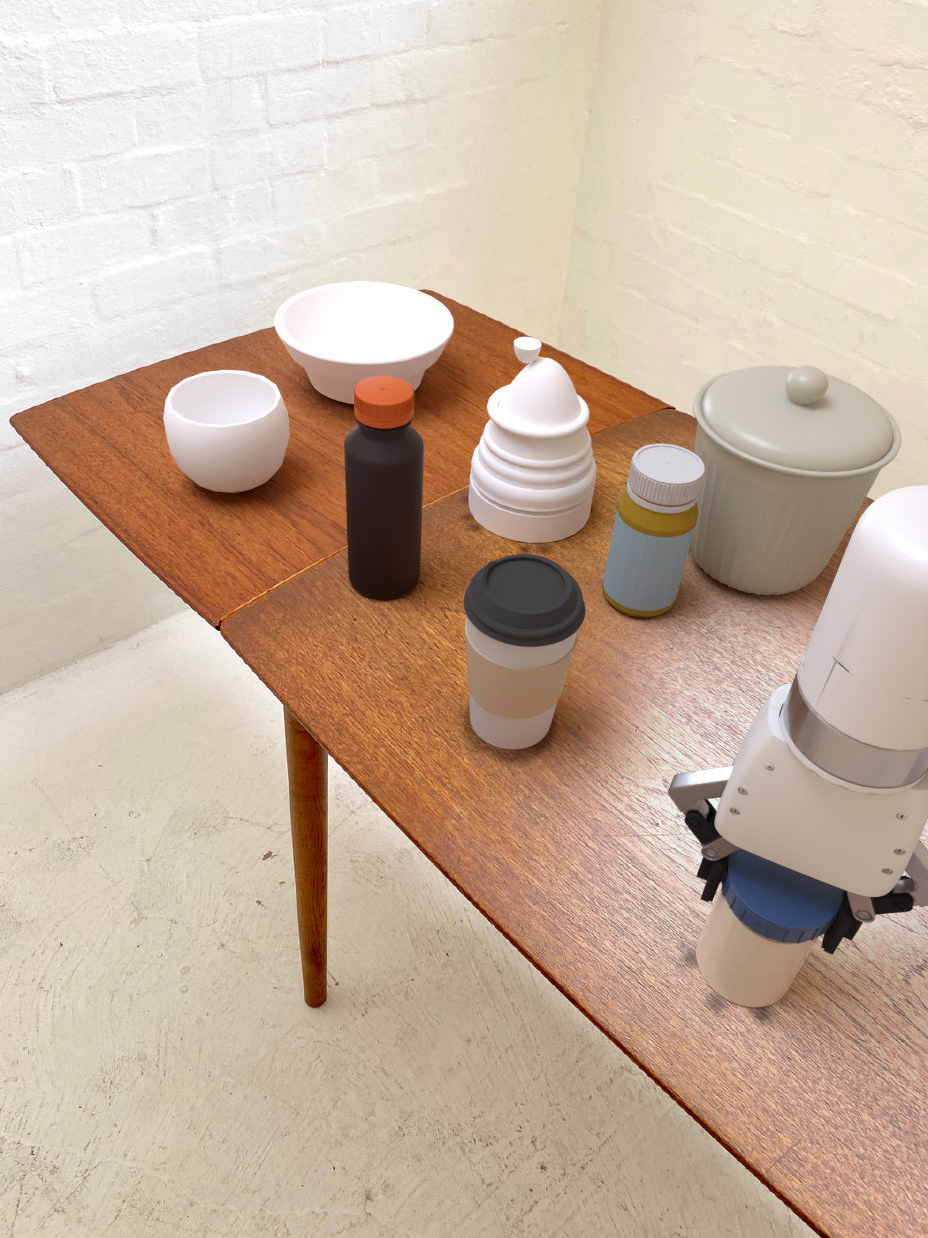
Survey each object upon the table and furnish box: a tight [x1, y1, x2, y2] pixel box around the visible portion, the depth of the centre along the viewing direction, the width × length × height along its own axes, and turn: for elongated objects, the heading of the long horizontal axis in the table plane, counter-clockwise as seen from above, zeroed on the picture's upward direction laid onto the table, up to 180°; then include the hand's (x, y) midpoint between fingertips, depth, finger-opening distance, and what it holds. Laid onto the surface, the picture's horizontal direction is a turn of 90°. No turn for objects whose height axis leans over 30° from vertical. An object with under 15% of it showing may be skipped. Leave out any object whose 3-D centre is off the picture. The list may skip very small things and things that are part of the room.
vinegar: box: [343, 376, 425, 600], centre depth 86 cm, size 7×7×20 cm
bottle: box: [601, 443, 705, 618], centre depth 88 cm, size 7×7×15 cm
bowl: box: [273, 281, 455, 405], centre depth 118 cm, size 21×21×8 cm
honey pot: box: [467, 336, 598, 544], centre depth 97 cm, size 13×13×18 cm
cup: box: [162, 369, 291, 494], centre depth 101 cm, size 12×12×10 cm
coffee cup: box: [462, 553, 587, 750], centre depth 76 cm, size 9×9×15 cm
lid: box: [720, 849, 844, 944], centre depth 59 cm, size 7×7×2 cm
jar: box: [695, 883, 819, 1008], centre depth 63 cm, size 6×6×10 cm
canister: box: [689, 364, 903, 596], centre depth 91 cm, size 18×18×21 cm
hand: (770, 907), depth 61 cm, fingers closed on lid, 6 cm apart
